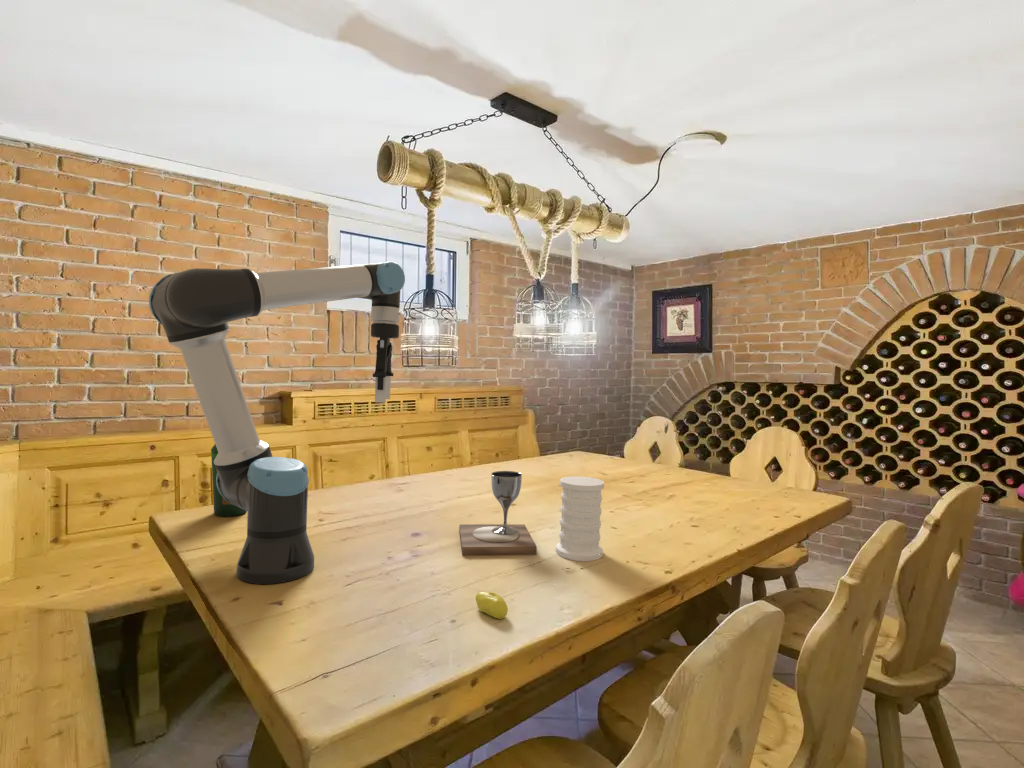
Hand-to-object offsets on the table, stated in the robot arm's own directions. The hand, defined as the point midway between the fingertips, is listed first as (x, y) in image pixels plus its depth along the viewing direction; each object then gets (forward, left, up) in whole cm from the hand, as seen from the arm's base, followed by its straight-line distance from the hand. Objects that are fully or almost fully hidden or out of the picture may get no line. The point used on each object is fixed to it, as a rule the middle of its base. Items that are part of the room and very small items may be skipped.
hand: (382, 400), depth 147 cm
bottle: (+12, +43, -35) cm, 57 cm away
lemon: (-54, -26, -35) cm, 69 cm away
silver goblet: (-13, -34, -32) cm, 48 cm away
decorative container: (-23, -51, -35) cm, 66 cm away
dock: (-15, -31, -35) cm, 49 cm away
